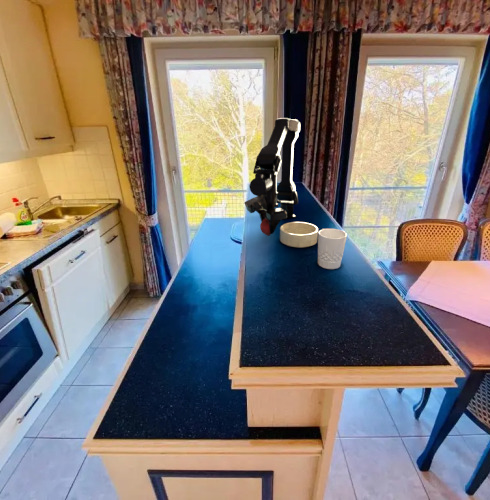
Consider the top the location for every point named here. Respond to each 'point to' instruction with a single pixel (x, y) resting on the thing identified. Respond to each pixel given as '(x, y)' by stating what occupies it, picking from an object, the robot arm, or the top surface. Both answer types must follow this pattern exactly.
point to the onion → (265, 227)
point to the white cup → (331, 248)
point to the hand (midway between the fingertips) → (268, 230)
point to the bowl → (298, 234)
